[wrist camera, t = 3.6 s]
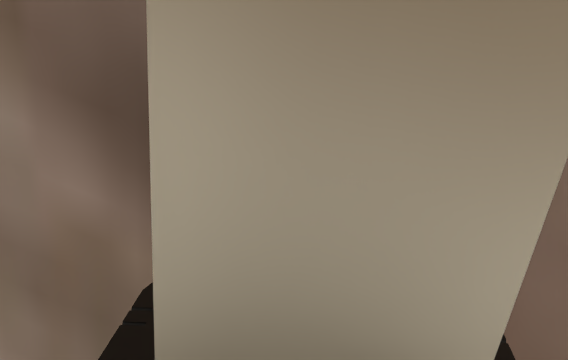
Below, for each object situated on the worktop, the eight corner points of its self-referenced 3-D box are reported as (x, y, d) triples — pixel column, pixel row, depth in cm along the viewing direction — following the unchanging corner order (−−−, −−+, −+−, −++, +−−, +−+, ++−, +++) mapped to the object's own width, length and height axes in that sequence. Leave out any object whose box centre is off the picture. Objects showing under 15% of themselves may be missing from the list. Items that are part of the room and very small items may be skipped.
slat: (257, -80, 8) (142, -163, 3) (472, -60, 8) (666, -117, 3) (223, 467, 14) (163, 716, 9) (347, 489, 13) (350, 756, 9)
